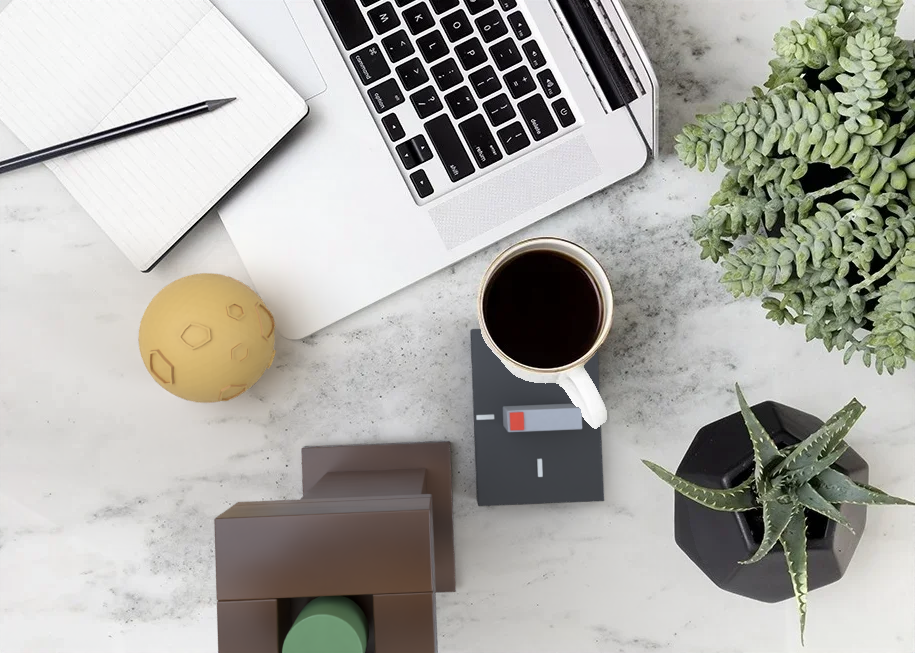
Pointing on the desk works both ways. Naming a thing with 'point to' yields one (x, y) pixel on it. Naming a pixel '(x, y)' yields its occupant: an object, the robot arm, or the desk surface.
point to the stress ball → (207, 338)
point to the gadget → (529, 440)
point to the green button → (328, 628)
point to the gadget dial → (542, 417)
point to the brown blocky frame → (326, 569)
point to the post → (390, 484)
